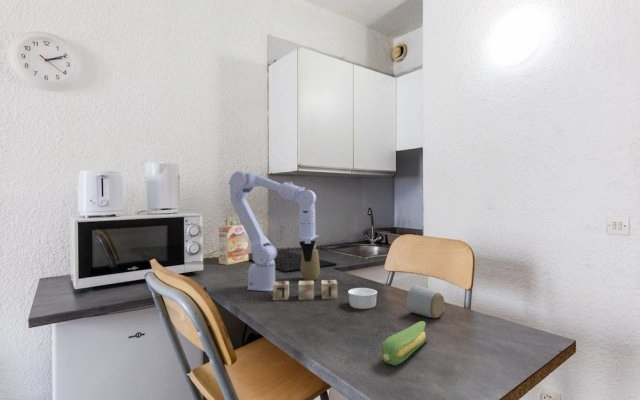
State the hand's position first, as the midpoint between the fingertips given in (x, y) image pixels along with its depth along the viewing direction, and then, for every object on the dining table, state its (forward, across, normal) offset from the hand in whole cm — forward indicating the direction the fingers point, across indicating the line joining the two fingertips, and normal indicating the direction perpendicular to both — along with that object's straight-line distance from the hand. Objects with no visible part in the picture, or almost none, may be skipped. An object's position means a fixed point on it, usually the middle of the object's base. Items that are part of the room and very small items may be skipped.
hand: (307, 261), depth 120 cm
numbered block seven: (+10, -8, +9) cm, 16 cm away
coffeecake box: (+11, +59, +38) cm, 71 cm away
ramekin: (+11, -18, -17) cm, 27 cm away
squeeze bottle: (+11, +17, -1) cm, 20 cm away
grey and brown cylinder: (+11, -27, -33) cm, 44 cm away
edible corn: (+11, -50, -21) cm, 55 cm away
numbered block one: (+10, -8, -7) cm, 15 cm away
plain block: (+10, -8, +1) cm, 14 cm away
